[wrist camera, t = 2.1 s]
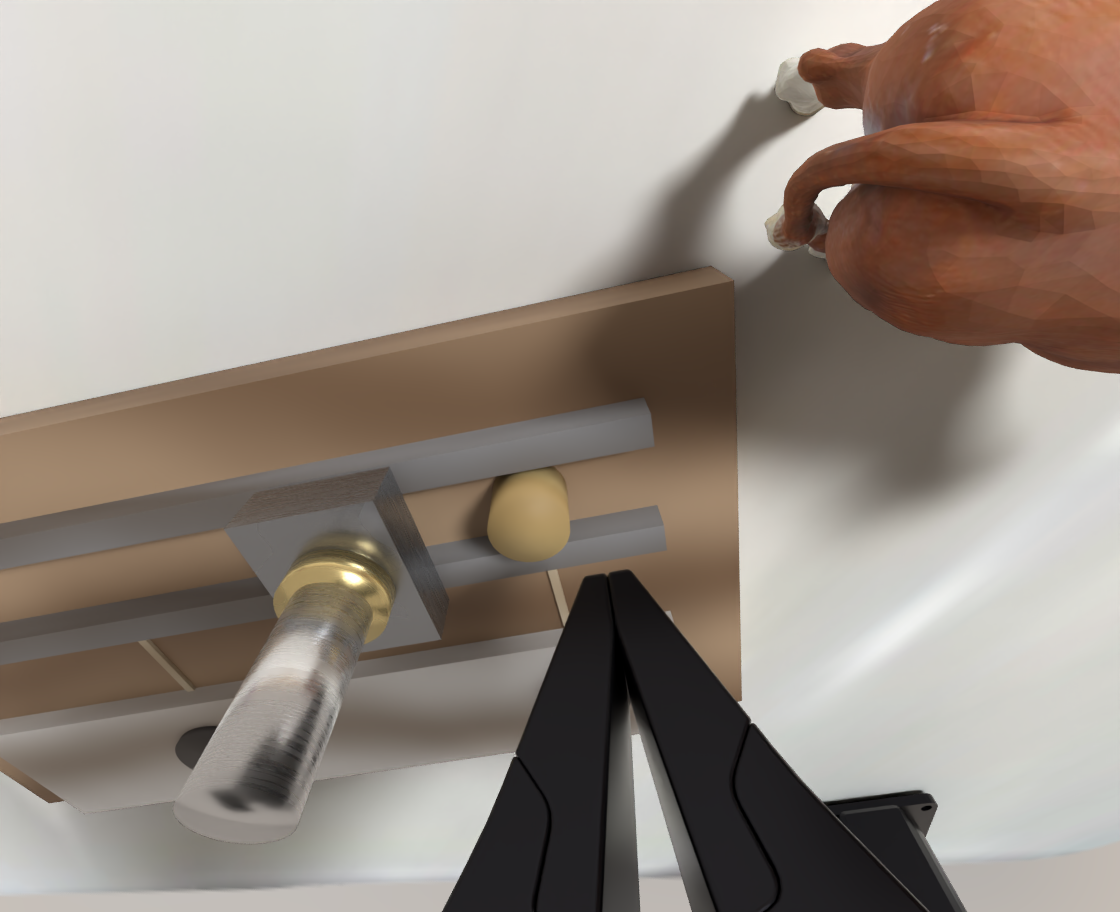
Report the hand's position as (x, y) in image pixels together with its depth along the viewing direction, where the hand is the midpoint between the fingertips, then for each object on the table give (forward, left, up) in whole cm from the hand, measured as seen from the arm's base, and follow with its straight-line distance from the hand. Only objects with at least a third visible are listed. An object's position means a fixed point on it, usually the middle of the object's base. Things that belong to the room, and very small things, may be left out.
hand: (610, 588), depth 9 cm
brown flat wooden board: (-3, +9, -5) cm, 11 cm away
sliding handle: (0, +6, -2) cm, 6 cm away
